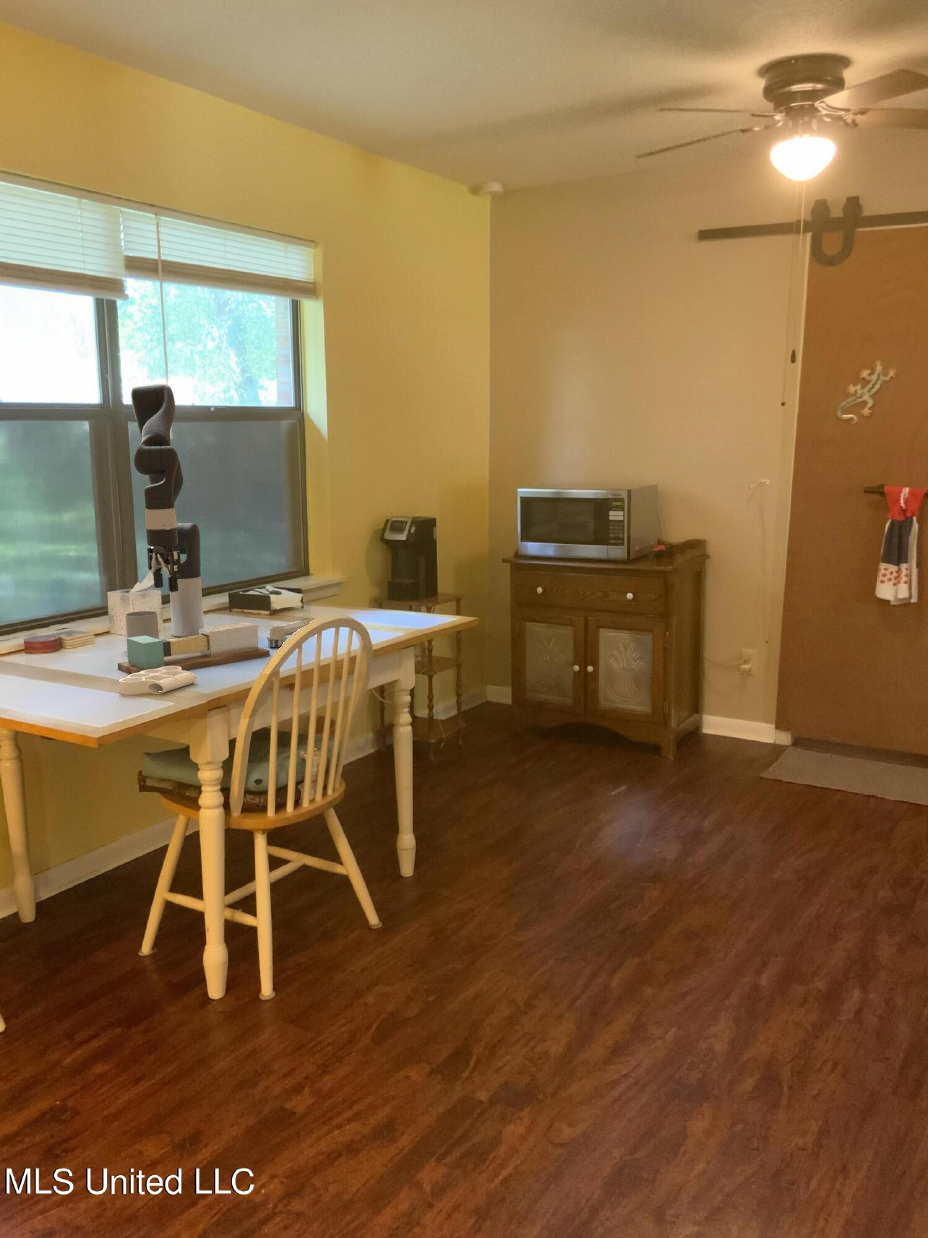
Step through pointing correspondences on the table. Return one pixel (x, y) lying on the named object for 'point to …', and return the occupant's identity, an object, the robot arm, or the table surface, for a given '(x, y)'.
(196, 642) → the plug
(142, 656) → the teal rectangular block
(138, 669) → the base board
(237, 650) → the sleeve
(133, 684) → the knuckle duster
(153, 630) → the cup
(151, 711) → the table surface
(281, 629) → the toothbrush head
